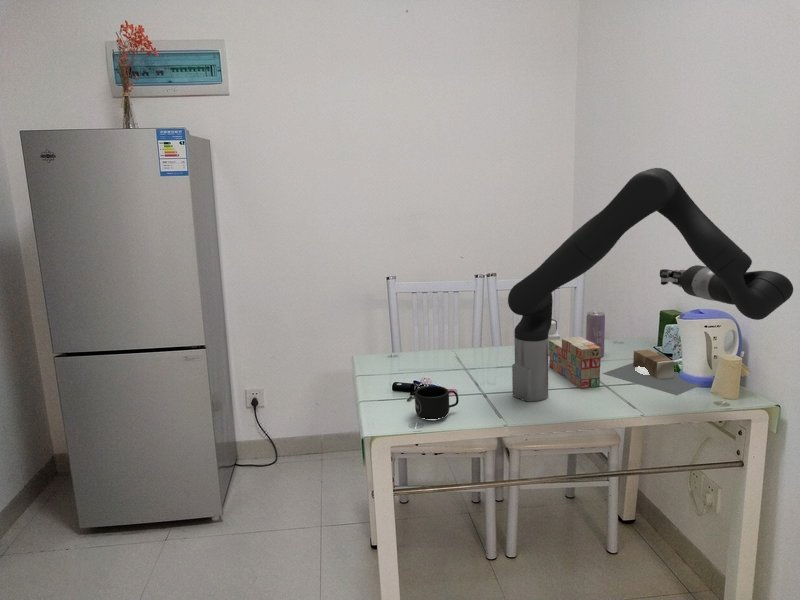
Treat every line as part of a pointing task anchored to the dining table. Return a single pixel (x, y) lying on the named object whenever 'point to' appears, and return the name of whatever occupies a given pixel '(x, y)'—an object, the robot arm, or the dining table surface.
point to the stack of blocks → (576, 361)
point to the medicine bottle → (553, 332)
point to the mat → (652, 380)
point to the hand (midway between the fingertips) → (662, 273)
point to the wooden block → (654, 363)
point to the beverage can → (596, 329)
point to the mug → (433, 402)
